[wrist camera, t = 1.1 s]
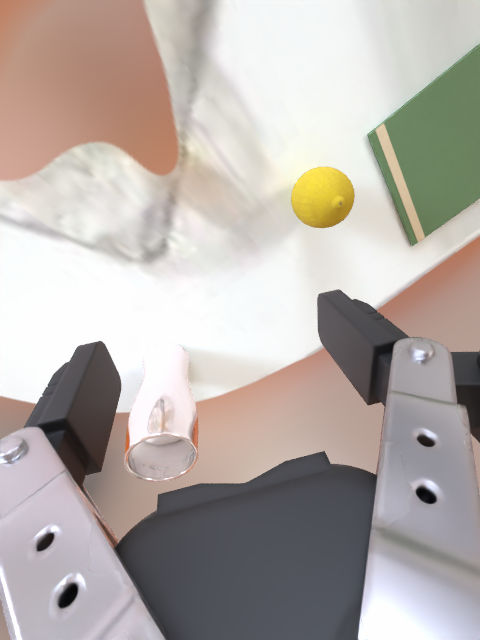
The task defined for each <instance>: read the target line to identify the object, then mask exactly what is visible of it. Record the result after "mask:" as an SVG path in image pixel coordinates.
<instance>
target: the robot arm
mask: <svg viewBox="0 0 480 640" xmlns="http://www.w3.org/2000/svg"><path fill="white" fill-rule="evenodd" d="M317 305H318V333H319V337H320V340H321V342H322V344H323V346H324V347H325V348H326V350H327V351H328V352H329V354H330V355H331V356H332V358H333V359H334V360H335V362H336V363H337V364H338V366H339V367H340V369H342V371H343V373H344V374H345V375H346V377H347V378H348V379H349V381H350V382H351V383H352V385H353V386H354V387H355V389H356V390H357V391H358V393H359V394H360V395H361V397H362V398H363V399H364V401H365V402H366V403H367V405H372V404H375V403H379V402H382V404H383V405H384V406H385V409H384V416H383V424H382V432H381V439H380V447H379V455H378V463H377V470H376V475H375V474H373V473H370V472H368V471H366V470H363V469H360V468H356V467H352V466H347V465H339V464H330V462H329V459H328V457H327V455H326V453H325V451H323V452H319V453H315V454H312V455H308V456H304V457H300V458H296V459H292V460H289V461H285V462H283V463H282V464H279V465H278V466H276V467H274V468H272V469H271V470H269V471H267V472H265V473H263V474H262V475H260V476H258V477H256V478H254V479H253V480H251V481H249V482H246V483H242V484H197V485H193V486H190V487H185V488H182V489H178V490H174V491H170V492H166V493H162V494H158V504H157V511H155V512H153V513H151V514H150V515H148V516H147V517H146V518H144V519H143V520H141V521H140V522H139V523H138V524H137V525H135V526H134V527H133V528H132V529H131V530H130V531H129V532H128V533H127V534H126V535H125V536H124V537H123V538H122V539H121V540H120V541H119V540H118V538H117V537H116V535H115V534H114V533H113V531H112V529H111V528H110V526H109V525H108V523H107V522H106V520H105V519H104V517H103V516H102V514H101V512H100V511H99V509H98V508H97V506H96V505H95V503H94V501H93V500H92V499H91V497H90V495H89V494H88V492H87V490H86V489H85V488H84V486H83V482H84V479H85V475H89V474H93V473H97V472H101V470H102V466H103V462H104V458H105V453H106V449H107V445H108V441H109V437H110V433H111V429H112V425H113V421H114V417H115V413H116V409H117V405H118V401H119V397H120V393H121V380H120V376H119V373H118V371H117V369H116V367H115V365H114V363H113V361H112V358H111V356H110V354H109V352H108V350H107V348H106V346H105V344H104V343H103V342H102V341H99V342H94V343H89V344H85V345H80V346H78V347H77V348H76V350H75V352H74V354H73V356H72V358H71V360H70V362H67V363H65V364H64V365H63V366H62V367H61V368H60V369H59V370H58V371H56V372H55V373H54V375H53V377H52V378H51V380H50V382H49V384H48V387H46V389H45V391H44V392H43V394H42V395H43V397H41V398H40V399H39V401H38V403H37V405H36V406H35V408H34V410H33V412H32V414H31V415H30V417H29V419H28V421H27V423H26V424H25V426H24V428H23V429H20V430H17V431H15V432H13V433H11V434H9V435H7V436H6V437H4V438H3V439H1V440H0V598H1V602H2V607H3V611H4V615H5V618H6V623H7V627H8V631H9V634H10V638H11V640H480V495H479V488H478V481H477V474H476V467H475V461H474V453H473V447H472V440H471V434H472V435H473V436H474V437H475V438H476V439H477V440H478V441H479V442H480V351H479V352H450V351H449V350H448V349H447V348H446V347H445V346H444V345H442V344H441V343H439V342H436V341H434V340H430V339H426V338H421V337H408V336H407V335H406V334H405V333H404V332H402V331H401V330H400V329H399V328H397V327H396V326H395V325H394V324H392V323H391V322H390V321H389V320H388V319H385V318H384V316H383V315H381V314H380V313H377V311H376V310H375V309H374V308H373V307H371V306H370V305H369V304H367V303H364V302H362V301H359V300H357V299H354V300H351V299H350V298H349V297H348V296H347V295H346V294H344V293H343V292H342V291H341V290H334V291H330V292H325V293H321V294H319V295H318V299H317Z"/></svg>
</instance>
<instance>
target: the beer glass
mask: <svg viewBox="0 0 480 640" xmlns="http://www.w3.org/2000/svg"><path fill="white" fill-rule="evenodd" d="M189 365H190V358H189V355H188V353H187V351H186V350H185V349H184V348H183V347H181V346H179V345H177V344H174V343H168V342H166V343H159V344H156V345H154V346H152V347H151V348H150V349H148V350H147V352H146V353H145V355H144V358H143V369H144V378H143V381H142V383H141V386H140V388H139V390H138V393H137V395H136V397H135V400H134V402H133V405H132V408H131V411H130V416H129V420H128V427H127V434H126V447H125V457H124V464H125V467H126V469H127V470H128V471H129V473H130V474H132V475H133V476H135V477H137V478H139V479H142V480H145V481H152V482H161V481H168V480H172V479H176V478H178V477H180V476H182V475H184V474H186V473H187V472H188V471H190V470H191V469H192V468H193V467H194V465H195V464H196V462H197V459H198V417H197V409H196V405H195V401H194V397H193V394H192V391H191V388H190V385H189V382H188V377H187V374H188V369H189Z"/></svg>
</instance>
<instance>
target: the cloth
mask: <svg viewBox="0 0 480 640" xmlns="http://www.w3.org/2000/svg"><path fill="white" fill-rule="evenodd" d="M368 138H369V140H370V143H371V145H372V148H373V150H374V153H375V155H376V158H377V160H378V163H379V165H380V168H381V170H382V173H383V175H384V178H385V180H386V183H387V186H388V188H389V191H390V193H391V196H392V198H393V201H394V203H395V206H396V208H397V211H398V213H399V216H400V218H401V221H402V223H403V226H404V228H405V231H406V233H407V236H408V238H409V241H410V244H411V245H412V246H414V245H415V244H417V243H419V242H420V241H421V240H423V239H424V238H425V237H426V236H428V235H429V234H430V233H432V232H433V231H435V230H436V229H437V228H439V227H440V226H442V225H443V224H444V223H446V222H447V221H449V220H450V219H451V218H453V217H454V216H456V215H457V214H458V213H460V212H461V211H463V210H464V209H465V208H467V207H468V206H470V205H471V204H472V203H474V202H475V201H476V200H478V199H479V198H480V44H479V45H478V46H476V47H475V48H474V49H473V50H471V51H470V52H469V53H468V54H467V55H465V56H464V57H463V58H462V59H460V60H459V61H458V62H457V63H455V64H454V65H453V66H452V67H450V68H449V69H448V70H447V71H446V72H444V73H443V74H442V75H441V76H439V77H438V78H437V79H436V80H434V81H433V82H432V83H431V84H429V85H428V86H427V87H426V88H424V89H423V90H422V91H421V92H420V93H418V94H417V95H416V96H415V97H413V98H412V99H411V100H410V101H408V102H407V103H406V104H405V105H403V106H402V107H401V108H400V109H399V110H397V111H396V112H395V113H394V114H392V115H391V116H390V117H389V118H387V119H386V120H385V121H384V122H382V123H381V124H380V125H379V126H377V127H376V128H375V129H374V130H373V131H371V132H370V133H369V134H368Z"/></svg>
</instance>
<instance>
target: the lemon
mask: <svg viewBox="0 0 480 640" xmlns="http://www.w3.org/2000/svg"><path fill="white" fill-rule="evenodd" d="M291 201H292V207H293V210H294V213H295V214H296V216H297V217H298V218H299V219H300V220H301V221H302V222H303V223H305V224H306V225H309V226H311V227H315V228H327V227H332V226H334V225H336V224H338V223H340V222H341V221H342V220H344V219H345V218H346V216H347V215H348V214H349V212H350V210H351V209H352V206H353V203H354V189H353V186H352V183H351V181H350V180H349V179H348V177H347V176H346V175H345V174H343V173H342V172H341V171H339V170H337V169H334V168H331V167H317V168H314V169H311V170H309V171H308V172H306V173H304V174H303V175H302V176H301V177H300V178H299V179H298V181H297V182H296V184H295V186H294V188H293V191H292V197H291Z"/></svg>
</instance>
